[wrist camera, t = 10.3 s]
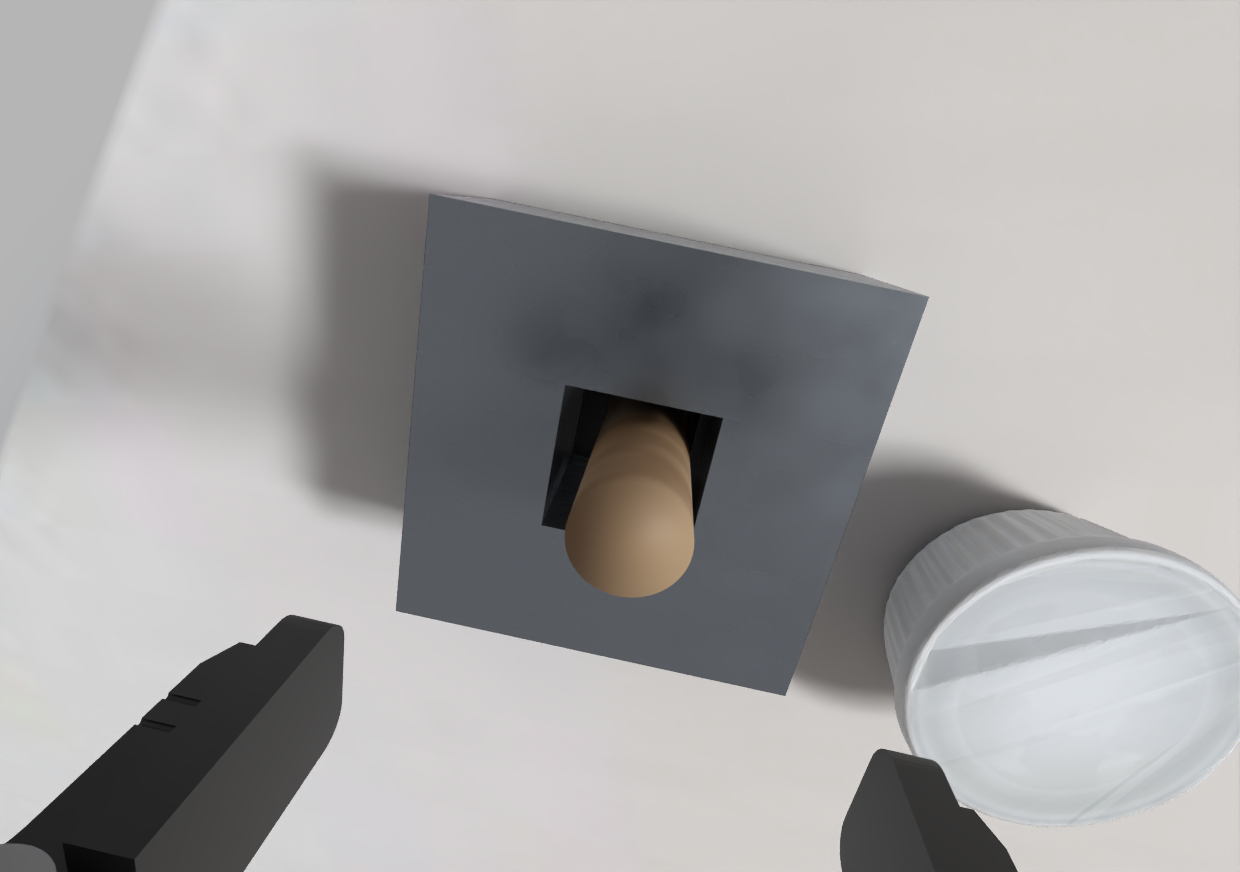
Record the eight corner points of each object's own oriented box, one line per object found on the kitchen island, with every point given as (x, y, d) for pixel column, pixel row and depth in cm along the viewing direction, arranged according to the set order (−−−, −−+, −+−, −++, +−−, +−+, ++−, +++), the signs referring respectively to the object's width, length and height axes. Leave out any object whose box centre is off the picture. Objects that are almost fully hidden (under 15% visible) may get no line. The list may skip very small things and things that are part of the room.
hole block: (863, 275, 22) (929, 297, 16) (761, 591, 26) (785, 696, 20) (493, 198, 22) (429, 193, 16) (456, 525, 26) (395, 610, 21)
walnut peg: (695, 383, 23) (707, 497, 14) (677, 457, 24) (678, 608, 15) (616, 367, 23) (575, 469, 14) (602, 441, 24) (556, 583, 15)
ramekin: (1009, 424, 23) (1101, 482, 18) (1217, 591, 24) (1354, 687, 19) (801, 623, 26) (830, 717, 22) (993, 758, 28) (1062, 875, 23)
